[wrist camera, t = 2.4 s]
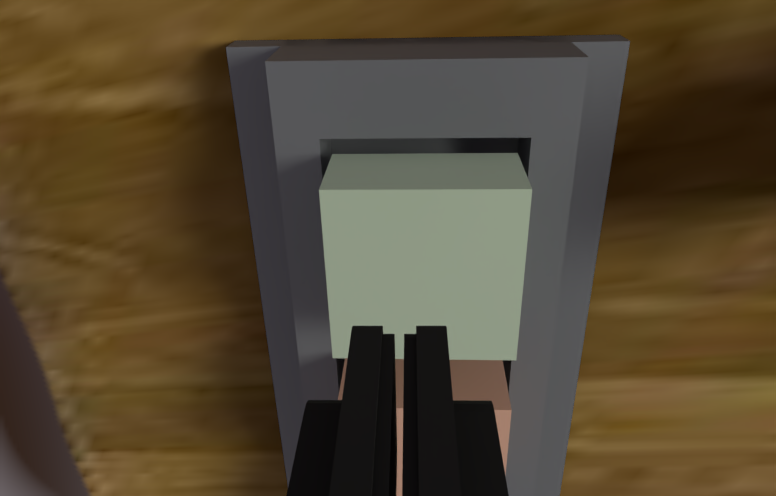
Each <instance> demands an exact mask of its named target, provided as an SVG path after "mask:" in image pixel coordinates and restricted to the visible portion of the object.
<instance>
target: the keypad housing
mask: <svg viewBox="0 0 776 496" xmlns="http://www.w3.org/2000/svg"><path fill="white" fill-rule="evenodd" d="M629 45H630V41H629V40H627V39H626V38H624V37H622V36H621V35H576V36H511V37H446V38H380V39H315V40H250V41H234V42H233V43H231V44H230V45H228V46H227V47H226V53H227V60H228V67H229V74H230V81H231V88H232V95H233V102H234V109H235V116H236V123H237V130H238V137H239V145H240V152H241V159H242V166H243V173H244V180H245V187H246V194H247V201H248V208H249V215H250V222H251V230H252V237H253V244H254V251H255V258H256V265H257V272H258V279H259V286H260V293H261V300H262V307H263V314H264V322H265V329H266V336H267V343H268V350H269V357H270V364H271V371H272V378H273V385H274V392H275V399H276V407H277V414H278V421H279V428H280V435H281V442H282V449H283V456H284V463H285V470H286V477H287V484H288V486H289V481H290V476H291V472H292V467H293V462H294V457H295V452H296V448H297V443H298V438H299V433H300V428H301V424H302V419H303V414H304V409H305V406H306V403H307V401H308V400H338V396H339V391H340V385H341V379H342V373H343V367H344V362H345V358H333V357H332V345H331V332H330V320H329V308H328V296H327V283H326V271H325V259H324V246H323V234H322V222H321V210H320V197H319V188H320V186H321V183H322V180H323V177H324V175H325V172H326V169H327V167H328V164H329V161H330V159H331V156H332V154H417V153H518V155H519V157H520V160H521V162H522V165H523V167H524V170H525V172H526V175H527V177H528V180H529V182H530V185H531V187H532V198H531V209H530V220H529V230H528V241H527V252H526V262H525V273H524V284H523V294H522V305H521V316H520V326H519V337H518V348H517V358H516V360H503V365H504V371H505V376H506V382H507V387H508V393H509V398H510V404H511V409H512V412H511V422H510V433H509V444H508V454H507V465H506V482H507V488H508V494H509V496H560V490H561V483H562V477H563V470H564V464H565V458H566V451H567V445H568V438H569V432H570V425H571V419H572V412H573V406H574V400H575V393H576V387H577V380H578V374H579V367H580V361H581V354H582V348H583V341H584V335H585V329H586V322H587V316H588V309H589V303H590V296H591V290H592V283H593V277H594V271H595V264H596V258H597V251H598V245H599V238H600V232H601V225H602V219H603V212H604V206H605V200H606V193H607V187H608V180H609V174H610V167H611V161H612V154H613V148H614V142H615V135H616V129H617V122H618V116H619V109H620V103H621V96H622V90H623V83H624V77H625V71H626V64H627V58H628V51H629Z"/></svg>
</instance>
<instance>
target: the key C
mask: <svg viewBox="0 0 776 496" xmlns="http://www.w3.org/2000/svg"><path fill="white" fill-rule="evenodd" d="M319 197H320V210H321V222H322V234H323V246H324V259H325V271H326V283H327V296H328V308H329V320H330V332H331V345H332V357H333V358H348V352H349V345H350V337H351V330H352V326H383V334H395V359H404V334H416V326H446V327H447V337H448V348H449V360H516V358H517V348H518V337H519V326H520V316H521V305H522V294H523V284H524V273H525V262H526V252H527V241H528V230H529V220H530V209H531V198H532V187H531V185H530V182H529V180H528V177H527V175H526V172H525V170H524V167H523V165H522V162H521V160H520V157H519V155H518V153H417V154H332V156H331V159H330V161H329V164H328V167H327V169H326V172H325V175H324V177H323V180H322V183H321V186H320V188H319Z"/></svg>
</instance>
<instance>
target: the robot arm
mask: <svg viewBox="0 0 776 496" xmlns="http://www.w3.org/2000/svg"><path fill="white" fill-rule="evenodd" d="M396 489H397V416H396V371H395V334H383V326H352V330H351V337H350V345H349V352H348V359H347V367H346V374H345V381H344V388H343V396H342V400H308V401H307V403H306V406H305V409H304V414H303V419H302V424H301V428H300V433H299V438H298V443H297V448H296V452H295V457H294V462H293V467H292V472H291V476H290V481H289V486H288V491H287V496H396ZM402 496H509V494H508V488H507V482H506V476H505V470H504V465H503V459H502V453H501V447H500V441H499V435H498V429H497V423H496V417H495V411H494V406H493V403H492V401H467V400H453V394H452V382H451V371H450V360H449V348H448V337H447V327H446V326H416V334H404V387H403V469H402Z"/></svg>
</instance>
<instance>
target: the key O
mask: <svg viewBox="0 0 776 496" xmlns="http://www.w3.org/2000/svg"><path fill="white" fill-rule="evenodd" d="M347 359H348V358H345V362H344V367H343V373H342V379H341V385H340V391H339V396H338V400H342V396H343V388H344V381H345V374H346V367H347ZM395 371H396V416H397V489H396V496H402V469H403V387H404V359H395ZM450 371H451V382H452V394H453V400H467V401H492V403H493V406H494V411H495V417H496V423H497V429H498V435H499V441H500V447H501V453H502V459H503V465H504V470H505V476H506V465H507V454H508V444H509V433H510V422H511V412H512V409H511V404H510V398H509V393H508V387H507V382H506V376H505V371H504V365H503V360H450Z"/></svg>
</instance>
